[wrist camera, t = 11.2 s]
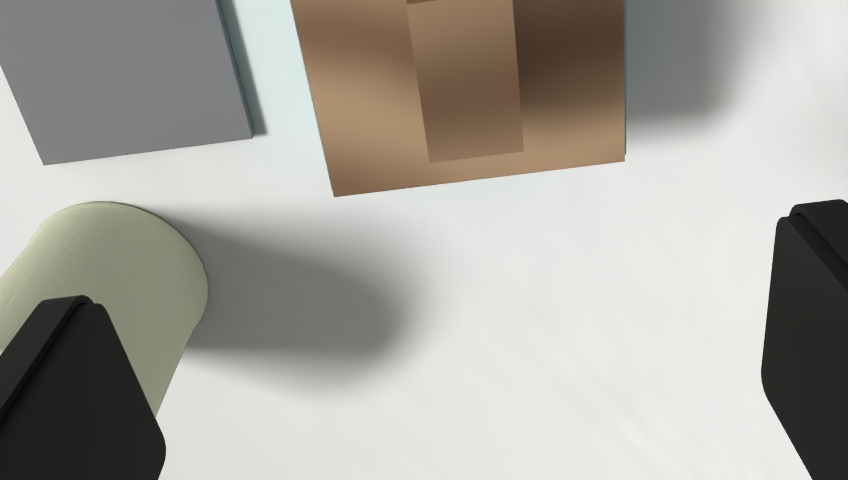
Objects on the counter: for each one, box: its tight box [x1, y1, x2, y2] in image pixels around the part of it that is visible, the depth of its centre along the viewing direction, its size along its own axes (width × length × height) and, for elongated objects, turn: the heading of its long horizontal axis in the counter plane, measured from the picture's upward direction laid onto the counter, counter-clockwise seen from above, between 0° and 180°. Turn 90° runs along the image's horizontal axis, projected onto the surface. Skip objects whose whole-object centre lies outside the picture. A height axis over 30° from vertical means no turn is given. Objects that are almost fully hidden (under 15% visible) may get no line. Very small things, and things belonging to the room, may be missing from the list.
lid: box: [290, 0, 625, 197], centre depth 25 cm, size 12×12×6 cm
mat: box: [0, 0, 255, 165], centre depth 33 cm, size 10×10×1 cm
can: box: [0, 202, 208, 418], centre depth 34 cm, size 9×9×12 cm
